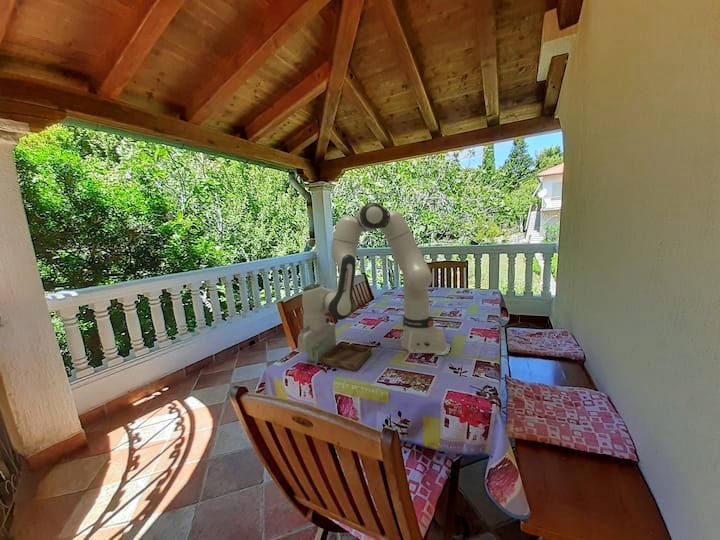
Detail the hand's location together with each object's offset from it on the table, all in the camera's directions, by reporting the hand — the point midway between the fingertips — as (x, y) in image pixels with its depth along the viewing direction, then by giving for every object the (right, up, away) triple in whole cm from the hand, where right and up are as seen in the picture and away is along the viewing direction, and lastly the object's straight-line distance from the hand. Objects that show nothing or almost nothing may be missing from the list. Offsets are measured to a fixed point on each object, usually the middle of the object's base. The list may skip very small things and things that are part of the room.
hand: (315, 353), depth 123 cm
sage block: (0, -2, 0) cm, 2 cm away
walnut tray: (+14, -2, -1) cm, 14 cm away
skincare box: (+4, -1, +9) cm, 10 cm away
